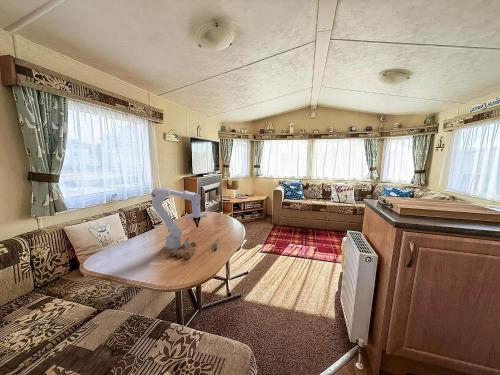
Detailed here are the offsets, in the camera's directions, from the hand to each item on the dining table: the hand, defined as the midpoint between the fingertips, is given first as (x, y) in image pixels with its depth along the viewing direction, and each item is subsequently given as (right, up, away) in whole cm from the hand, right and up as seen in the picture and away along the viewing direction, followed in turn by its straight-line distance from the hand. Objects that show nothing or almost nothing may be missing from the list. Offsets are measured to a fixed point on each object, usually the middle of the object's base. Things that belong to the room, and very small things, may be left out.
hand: (197, 226), depth 150 cm
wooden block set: (-2, -11, -27) cm, 30 cm away
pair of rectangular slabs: (+5, -12, -9) cm, 16 cm away
